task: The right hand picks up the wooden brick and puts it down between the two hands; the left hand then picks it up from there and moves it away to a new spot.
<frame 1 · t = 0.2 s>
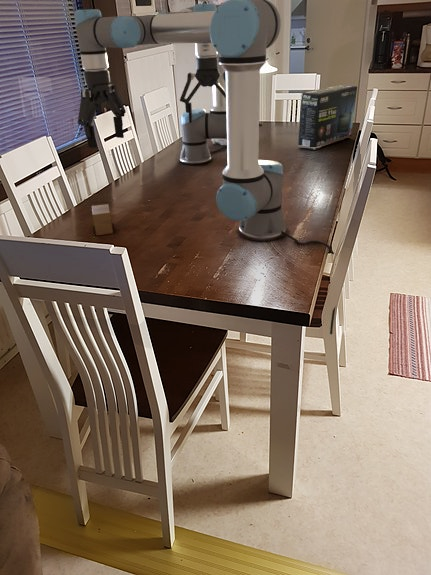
left hand: (209, 121, 167), 28 cm above the table, tool pointing down, fingers open, 13 cm apart
right hand: (106, 142, 148), 27 cm above the table, tool pointing down, fingers open, 13 cm apart
router box: (325, 143, 245), on the table
brick: (104, 229, 156), on the table
fossil: (227, 143, 251), on the table
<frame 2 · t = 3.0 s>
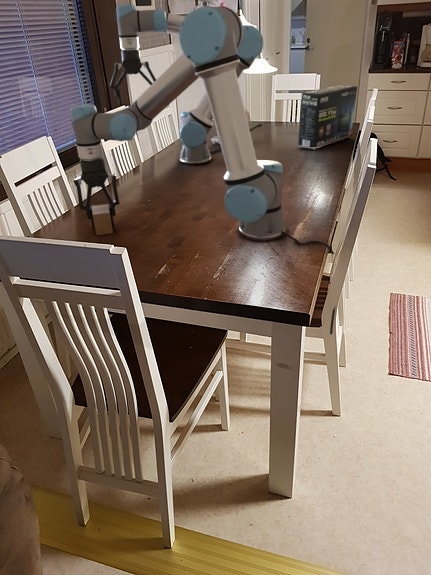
left hand: (136, 104, 198), 29 cm above the table, tool pointing down, fingers open, 13 cm apart
right hand: (103, 225, 156), 1 cm above the table, tool pointing down, fingers closed on brick, 6 cm apart
brick: (104, 229, 156), on the table, touching right hand
everything else where it was.
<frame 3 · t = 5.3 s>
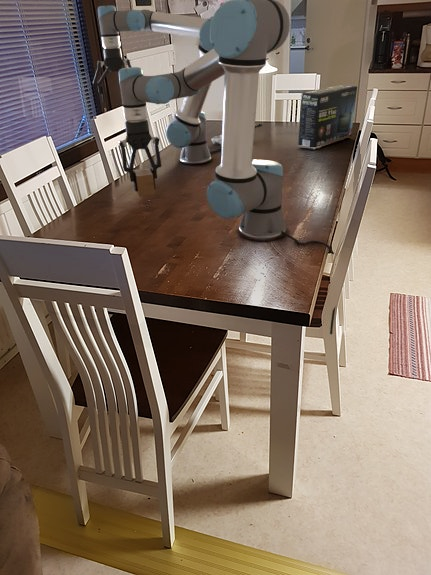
left hand: (118, 100, 208), 29 cm above the table, tool pointing down, fingers open, 13 cm apart
right hand: (145, 188, 161), 10 cm above the table, tool pointing down, fingers closed on brick, 6 cm apart
brick: (145, 192, 162), point 8 cm above the table, touching right hand
everything else where it was.
when the right hand's fingers open (3 cm above the table, at t = 7.5 s): brick drops 2 cm, on the table.
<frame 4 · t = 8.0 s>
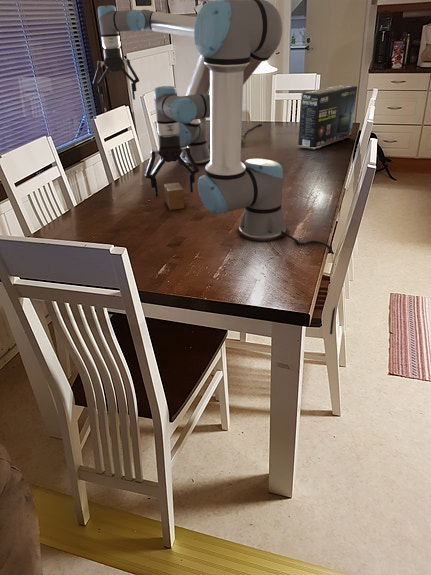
left hand: (118, 100, 208), 29 cm above the table, tool pointing down, fingers open, 13 cm apart
right hand: (173, 193, 171), 5 cm above the table, tool pointing down, fingers open, 12 cm apart
brick: (175, 205, 174), on the table
everything else where it was.
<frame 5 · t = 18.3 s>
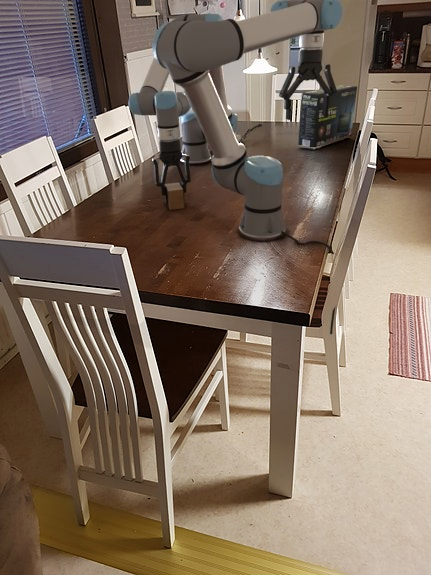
left hand: (174, 202, 173), 1 cm above the table, tool pointing down, fingers closed on brick, 6 cm apart
right hand: (306, 117, 159), 30 cm above the table, tool pointing down, fingers open, 13 cm apart
brick: (175, 205, 174), on the table, touching left hand
everything else where it was.
when the left hand's fingers open (3 cm above the table, at t = 25.3 s): brick drops 2 cm, on the table.
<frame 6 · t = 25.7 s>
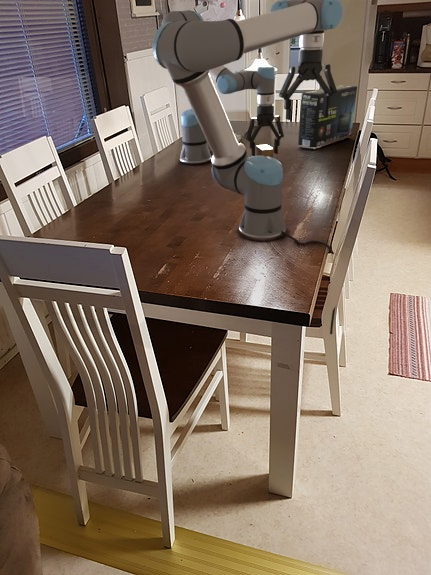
left hand: (264, 154, 215), 4 cm above the table, tool pointing down, fingers open, 10 cm apart
right hand: (306, 117, 159), 30 cm above the table, tool pointing down, fingers open, 13 cm apart
brick: (264, 162, 217), on the table
everything else where it was.
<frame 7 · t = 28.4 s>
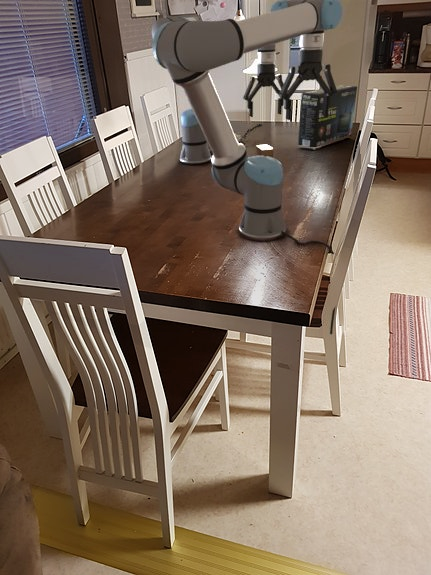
left hand: (265, 115, 206), 21 cm above the table, tool pointing down, fingers open, 13 cm apart
right hand: (306, 117, 159), 30 cm above the table, tool pointing down, fingers open, 13 cm apart
nothing on the table moved.
at the end: brick inside the target area (0.0 cm from its centre), on the table; brick tilted 0°; the two hands never held the brick at the same time; the left hand is holding nothing; the right hand is holding nothing; brick at rest at the end (0.0 cm/s) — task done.
